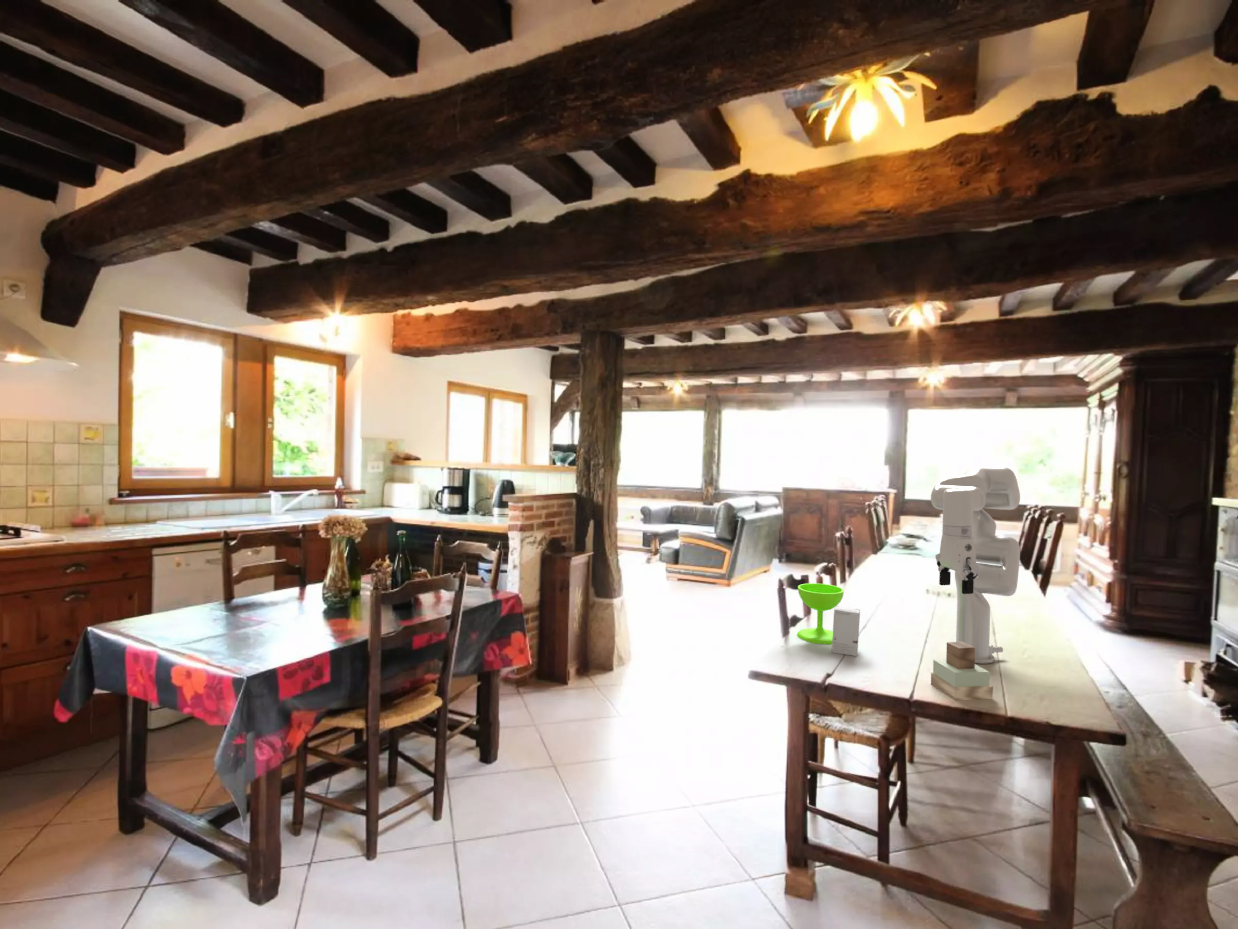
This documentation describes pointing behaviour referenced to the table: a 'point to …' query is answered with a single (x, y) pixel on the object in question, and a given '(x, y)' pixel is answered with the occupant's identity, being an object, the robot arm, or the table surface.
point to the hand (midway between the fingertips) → (955, 589)
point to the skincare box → (845, 630)
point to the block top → (961, 675)
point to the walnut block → (960, 655)
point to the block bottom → (962, 690)
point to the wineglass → (819, 609)
